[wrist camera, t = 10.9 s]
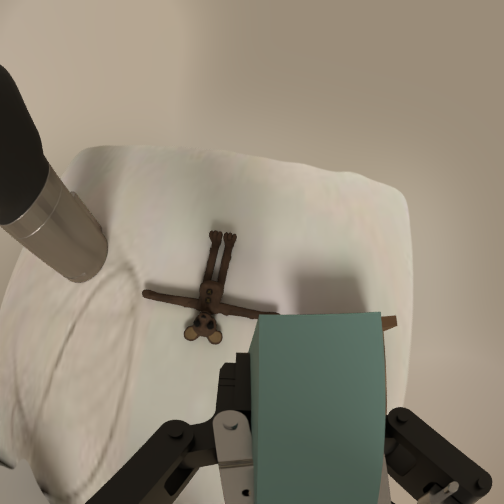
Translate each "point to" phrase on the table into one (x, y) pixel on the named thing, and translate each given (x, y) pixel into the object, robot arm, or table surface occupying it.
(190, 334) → the long-limbed plush toy
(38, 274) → the table surface
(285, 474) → the teal board
